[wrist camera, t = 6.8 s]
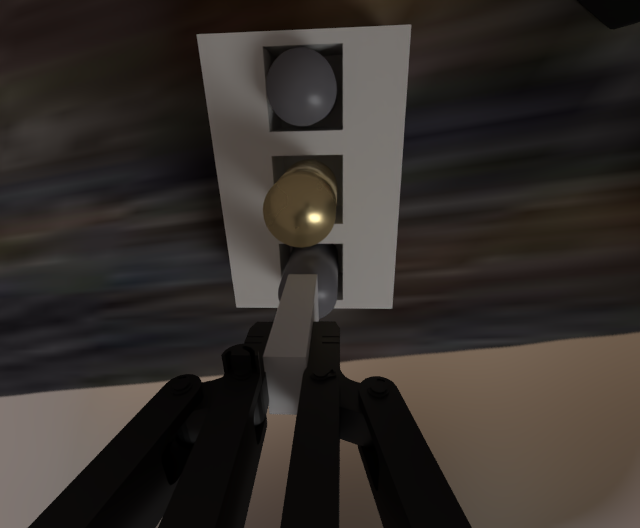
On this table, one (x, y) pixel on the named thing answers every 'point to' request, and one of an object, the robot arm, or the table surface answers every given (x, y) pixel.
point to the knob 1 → (301, 87)
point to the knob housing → (311, 153)
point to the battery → (614, 11)
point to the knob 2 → (316, 272)
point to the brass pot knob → (302, 204)
